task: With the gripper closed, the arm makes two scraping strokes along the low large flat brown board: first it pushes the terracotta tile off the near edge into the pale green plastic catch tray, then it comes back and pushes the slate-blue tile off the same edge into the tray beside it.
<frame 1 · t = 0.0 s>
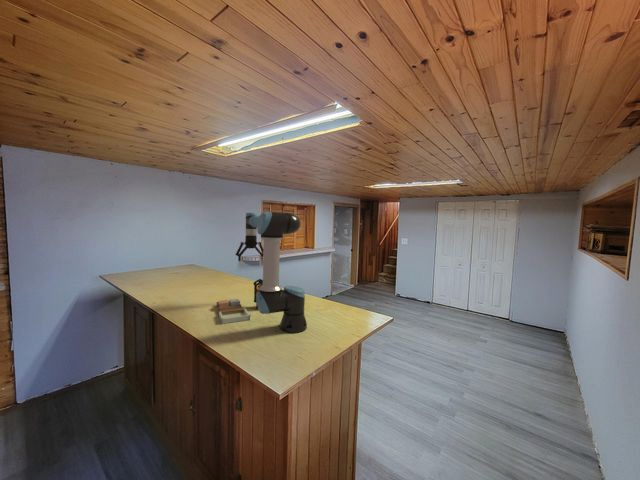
hand: (250, 265, 187), 28 cm above the table, fingers open, 13 cm apart
tray: (234, 318, 162), on the table
tile b: (234, 304, 181), point 2 cm above the table, touching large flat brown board
canister: (261, 308, 183), on the table
tile a: (223, 305, 178), point 2 cm above the table, touching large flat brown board
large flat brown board: (229, 309, 178), on the table
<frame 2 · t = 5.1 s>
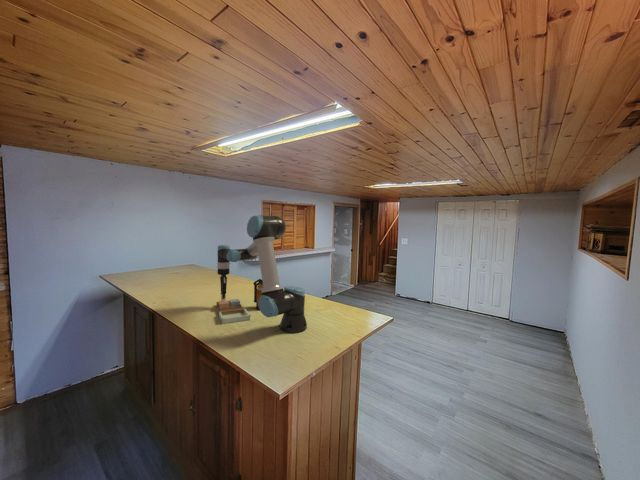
hand: (223, 302, 180), 4 cm above the table, fingers closed
tile a: (223, 305, 177), point 3 cm above the table, touching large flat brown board
everything else where it was.
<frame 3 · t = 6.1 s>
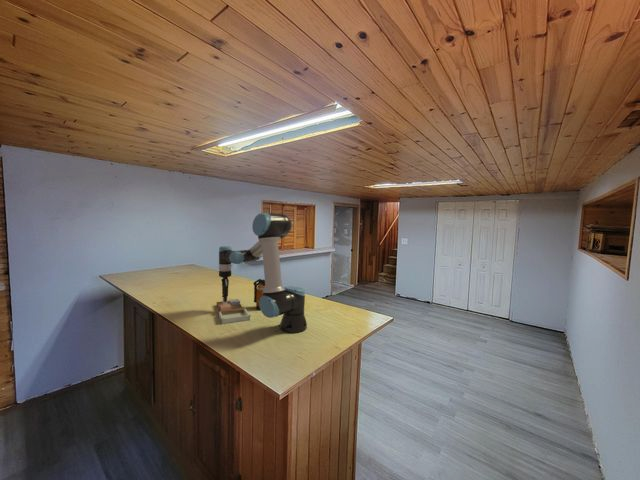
hand: (225, 306, 173), 4 cm above the table, fingers closed
tile a: (225, 309, 170), point 3 cm above the table, touching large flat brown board, gripper
everything else where it was.
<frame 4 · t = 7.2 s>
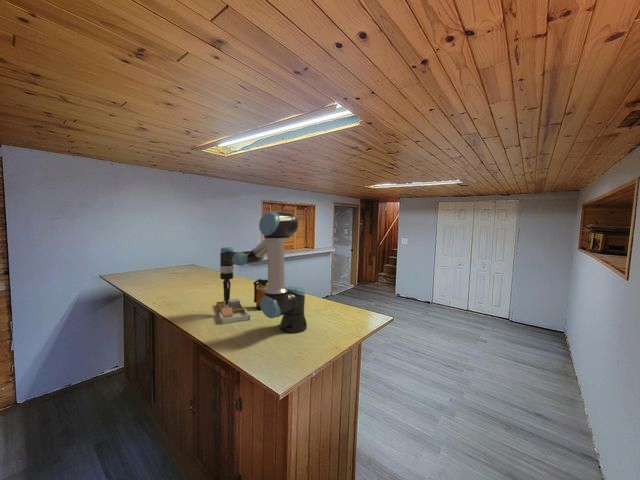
hand: (226, 309, 167), 4 cm above the table, fingers closed
tile a: (226, 314, 164), point 2 cm above the table, tilted 22°, touching gripper
everything else where it was.
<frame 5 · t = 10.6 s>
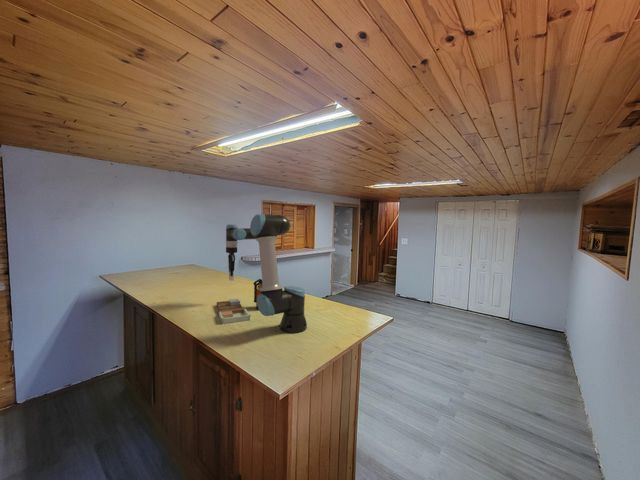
hand: (231, 280, 187), 17 cm above the table, fingers closed
tile a: (227, 317, 163), resting on tray
everything else where it was.
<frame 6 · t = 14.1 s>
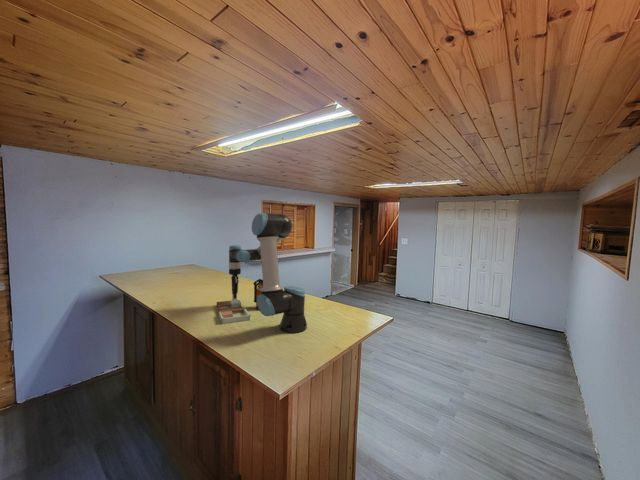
hand: (234, 302, 181), 3 cm above the table, fingers closed
tile b: (235, 305, 178), point 3 cm above the table, touching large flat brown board, gripper
everything else where it was.
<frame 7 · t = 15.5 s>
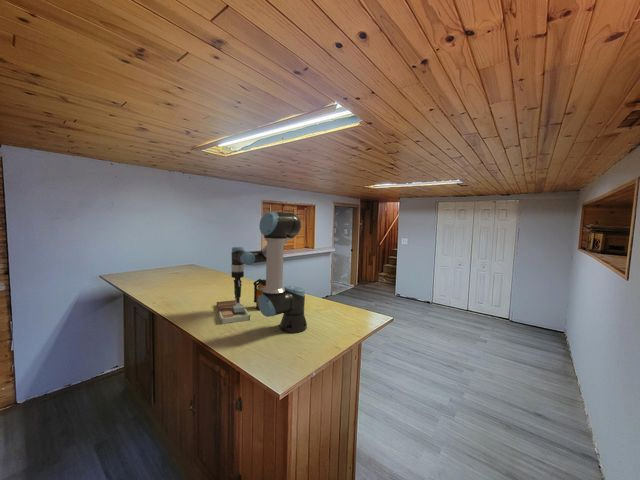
hand: (237, 307, 173), 4 cm above the table, fingers closed
tile b: (238, 310, 169), point 3 cm above the table
everything else where it was.
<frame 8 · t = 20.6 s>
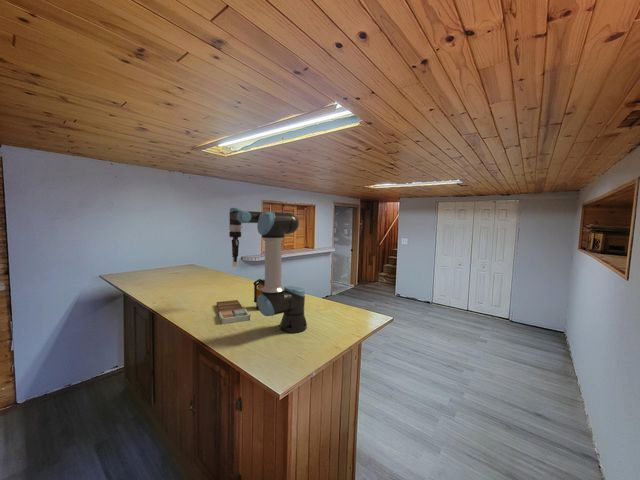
hand: (235, 266, 179), 28 cm above the table, fingers closed
tile b: (239, 315, 166), resting on tray
everything else where it was.
at the end: tile a inside the target area on the tray (4.2 cm from its centre), point 0.5 cm above the tray's base; tile b inside the target area on the tray (3.9 cm from its centre), point 0.5 cm above the tray's base; tile a touching tray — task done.
